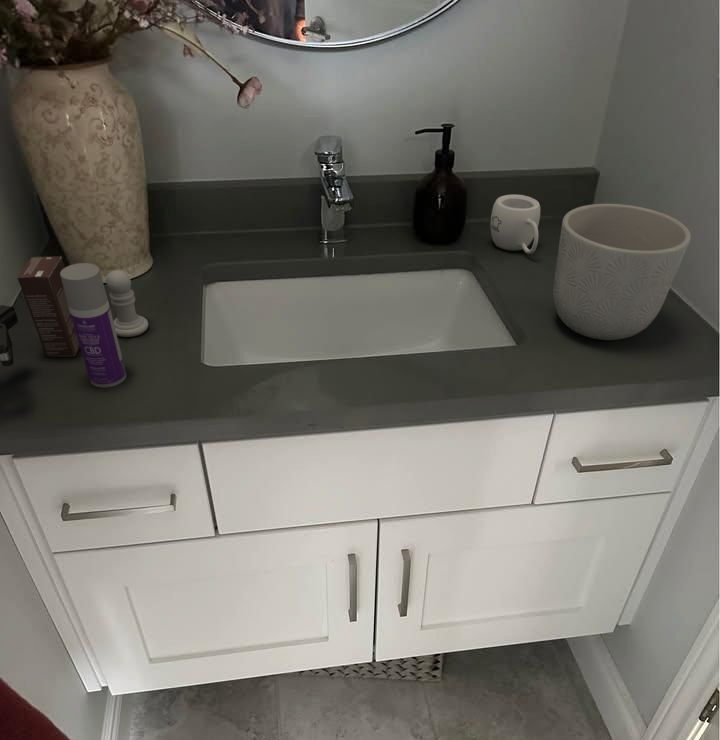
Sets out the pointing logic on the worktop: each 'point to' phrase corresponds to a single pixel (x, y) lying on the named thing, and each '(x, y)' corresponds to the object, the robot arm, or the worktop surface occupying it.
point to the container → (93, 324)
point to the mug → (515, 222)
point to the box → (49, 305)
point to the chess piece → (124, 305)
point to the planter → (615, 268)
